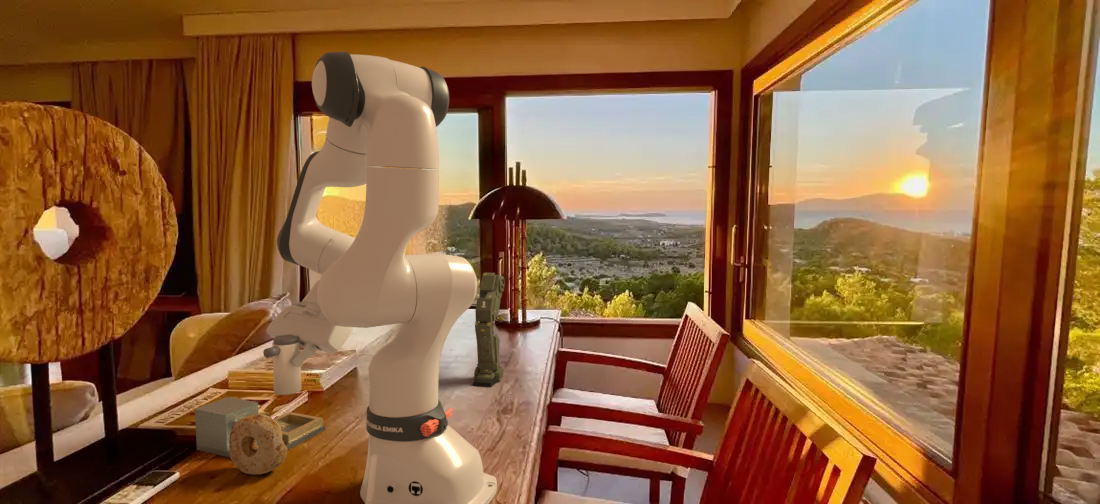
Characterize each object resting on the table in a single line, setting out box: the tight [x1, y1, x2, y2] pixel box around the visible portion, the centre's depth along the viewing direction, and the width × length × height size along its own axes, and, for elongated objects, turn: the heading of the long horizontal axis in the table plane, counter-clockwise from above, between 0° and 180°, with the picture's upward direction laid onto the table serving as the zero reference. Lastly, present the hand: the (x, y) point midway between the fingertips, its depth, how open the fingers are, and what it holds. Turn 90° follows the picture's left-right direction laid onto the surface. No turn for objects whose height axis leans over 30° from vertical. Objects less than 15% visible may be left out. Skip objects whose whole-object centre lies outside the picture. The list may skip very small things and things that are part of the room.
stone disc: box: [229, 413, 289, 475], centre depth 94 cm, size 10×4×10 cm, turn 75°
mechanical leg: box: [472, 272, 506, 388], centre depth 145 cm, size 14×7×30 cm, turn 169°
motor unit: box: [194, 396, 326, 458], centre depth 107 cm, size 16×16×8 cm
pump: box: [262, 335, 302, 396], centre depth 107 cm, size 5×7×11 cm
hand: (284, 362), depth 108 cm, fingers closed on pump, 5 cm apart
